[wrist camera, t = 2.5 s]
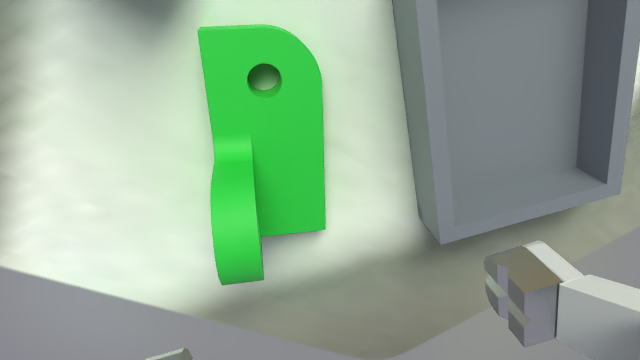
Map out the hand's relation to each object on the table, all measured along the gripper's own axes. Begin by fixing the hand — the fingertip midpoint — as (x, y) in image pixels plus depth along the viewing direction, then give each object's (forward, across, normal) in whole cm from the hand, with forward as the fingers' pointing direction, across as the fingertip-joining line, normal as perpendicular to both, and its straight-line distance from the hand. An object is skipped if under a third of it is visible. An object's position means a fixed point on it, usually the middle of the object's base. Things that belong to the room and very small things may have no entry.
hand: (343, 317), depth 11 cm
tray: (+15, -14, 0) cm, 20 cm away
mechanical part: (+16, +1, 0) cm, 16 cm away
